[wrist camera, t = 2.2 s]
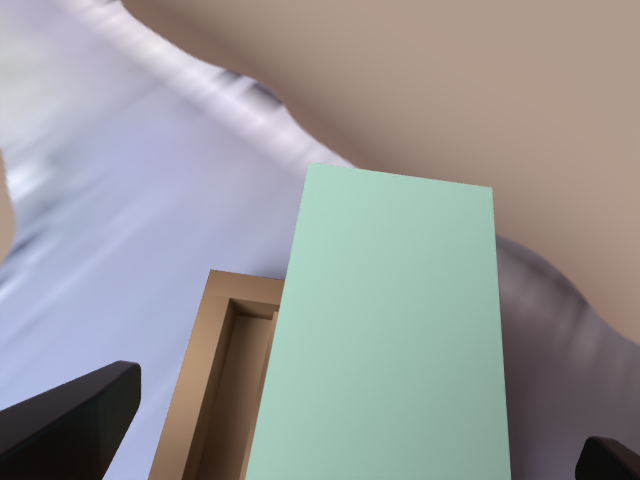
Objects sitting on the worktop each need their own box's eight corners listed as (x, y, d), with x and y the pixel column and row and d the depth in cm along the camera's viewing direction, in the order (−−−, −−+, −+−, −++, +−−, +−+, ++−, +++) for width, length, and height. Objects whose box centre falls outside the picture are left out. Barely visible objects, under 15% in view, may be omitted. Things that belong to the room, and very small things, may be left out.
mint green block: (372, 492, 14) (514, 535, 5) (281, 477, 15) (243, 490, 5) (382, 348, 17) (491, 187, 7) (304, 336, 17) (308, 162, 7)
